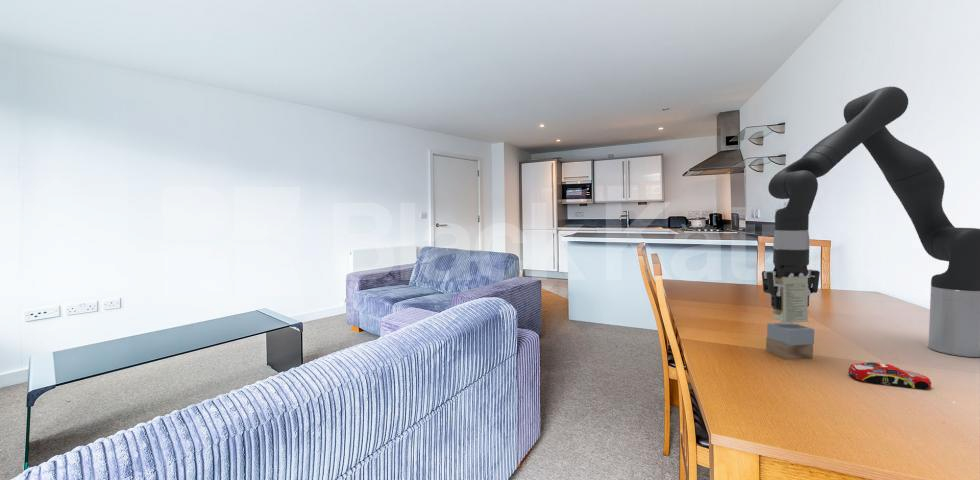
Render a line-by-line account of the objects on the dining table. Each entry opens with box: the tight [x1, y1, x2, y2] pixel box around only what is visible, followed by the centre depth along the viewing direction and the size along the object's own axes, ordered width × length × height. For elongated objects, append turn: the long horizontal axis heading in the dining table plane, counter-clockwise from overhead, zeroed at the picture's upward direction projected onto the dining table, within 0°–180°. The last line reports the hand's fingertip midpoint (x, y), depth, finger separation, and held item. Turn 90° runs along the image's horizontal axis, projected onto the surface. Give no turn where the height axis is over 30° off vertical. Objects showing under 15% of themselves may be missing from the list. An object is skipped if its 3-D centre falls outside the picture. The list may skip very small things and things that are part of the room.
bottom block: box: [765, 336, 814, 361], centre depth 102 cm, size 7×7×4 cm
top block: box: [766, 321, 815, 346], centre depth 102 cm, size 7×7×4 cm
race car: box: [847, 361, 932, 391], centre depth 84 cm, size 13×5×4 cm, turn 65°
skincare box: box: [772, 276, 809, 323], centre depth 101 cm, size 6×4×12 cm
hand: (789, 308), depth 101 cm, fingers closed on skincare box, 6 cm apart
